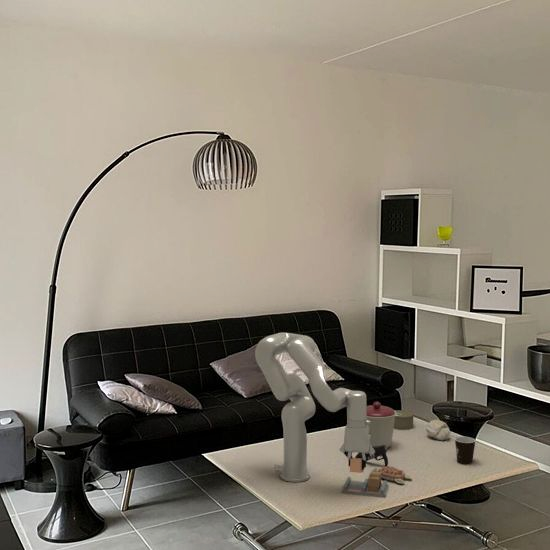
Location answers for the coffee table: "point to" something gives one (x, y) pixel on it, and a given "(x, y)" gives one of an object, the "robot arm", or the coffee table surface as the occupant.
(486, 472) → the coffee table surface
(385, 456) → the gun
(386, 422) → the canister
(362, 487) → the slot rack
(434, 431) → the fossil replica
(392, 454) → the coffee table surface
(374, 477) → the walnut bar
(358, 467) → the terracotta bar
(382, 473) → the decorative turtle
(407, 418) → the can
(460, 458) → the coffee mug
